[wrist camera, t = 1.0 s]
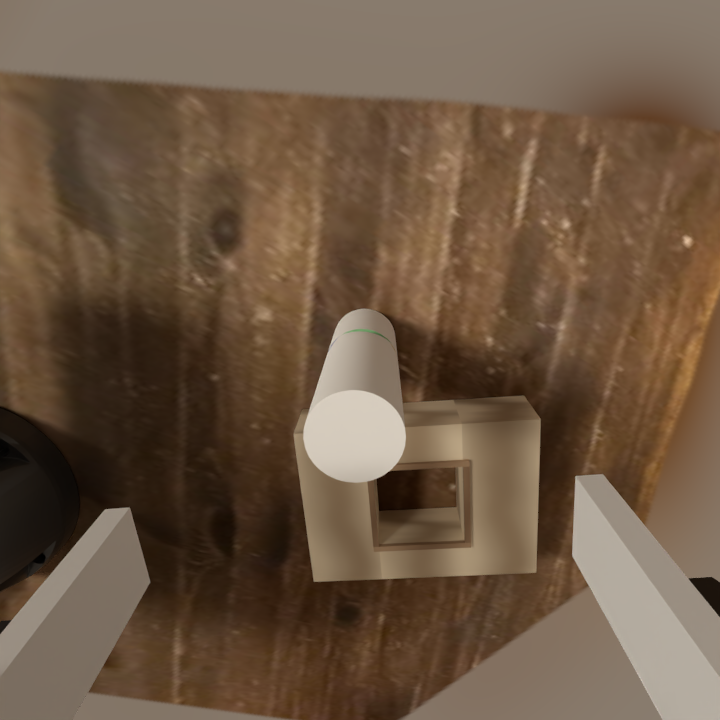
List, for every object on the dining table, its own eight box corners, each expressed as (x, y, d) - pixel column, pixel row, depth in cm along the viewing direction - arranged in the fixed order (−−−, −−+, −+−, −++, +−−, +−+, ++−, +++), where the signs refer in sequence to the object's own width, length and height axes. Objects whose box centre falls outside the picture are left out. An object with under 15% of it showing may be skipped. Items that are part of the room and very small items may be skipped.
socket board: (319, 545, 41) (313, 584, 37) (302, 409, 37) (292, 435, 33) (521, 536, 40) (537, 575, 36) (524, 395, 36) (542, 420, 32)
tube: (407, 345, 35) (426, 449, 21) (357, 379, 36) (343, 499, 22) (371, 296, 34) (366, 370, 20) (321, 331, 35) (282, 426, 21)
